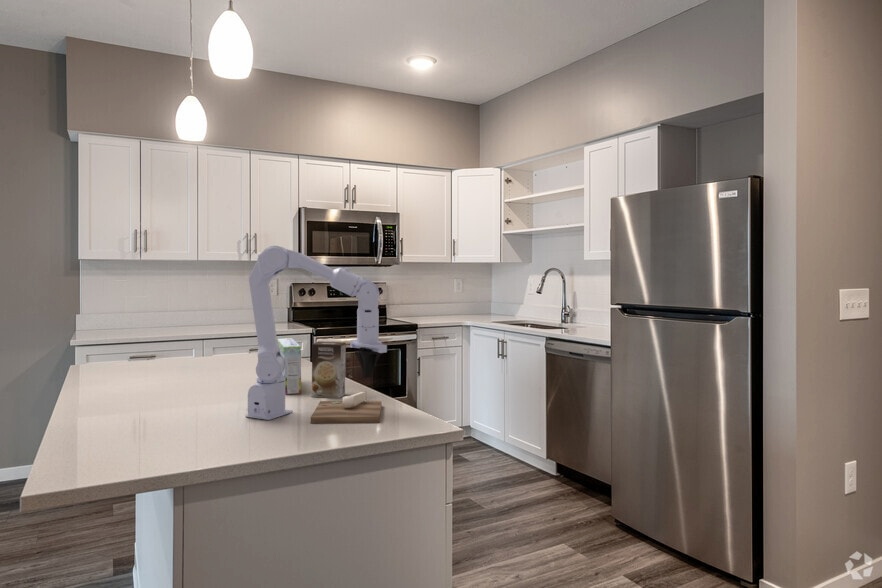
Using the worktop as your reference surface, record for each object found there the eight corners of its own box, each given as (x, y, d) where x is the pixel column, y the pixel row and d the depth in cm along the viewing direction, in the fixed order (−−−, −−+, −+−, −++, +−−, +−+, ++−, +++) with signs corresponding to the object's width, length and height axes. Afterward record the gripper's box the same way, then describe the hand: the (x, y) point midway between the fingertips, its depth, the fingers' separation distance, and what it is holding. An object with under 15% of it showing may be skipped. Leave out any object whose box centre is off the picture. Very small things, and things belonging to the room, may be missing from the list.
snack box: (276, 382, 198) (276, 338, 198) (293, 381, 200) (293, 337, 200) (283, 395, 178) (283, 345, 178) (302, 394, 180) (302, 345, 180)
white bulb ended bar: (350, 407, 153) (350, 398, 153) (340, 406, 155) (340, 397, 155) (370, 400, 163) (370, 391, 163) (360, 398, 164) (360, 390, 164)
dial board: (379, 422, 147) (379, 415, 147) (310, 423, 146) (310, 416, 146) (381, 406, 165) (381, 400, 165) (320, 406, 164) (320, 400, 164)
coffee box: (310, 397, 176) (310, 343, 175) (317, 393, 182) (317, 341, 181) (340, 398, 175) (340, 344, 174) (346, 393, 181) (346, 341, 180)
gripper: (396, 327, 154) (396, 379, 155) (365, 323, 165) (365, 371, 166) (373, 329, 150) (373, 382, 150) (343, 325, 161) (343, 374, 161)
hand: (367, 377), depth 158 cm, fingers closed
